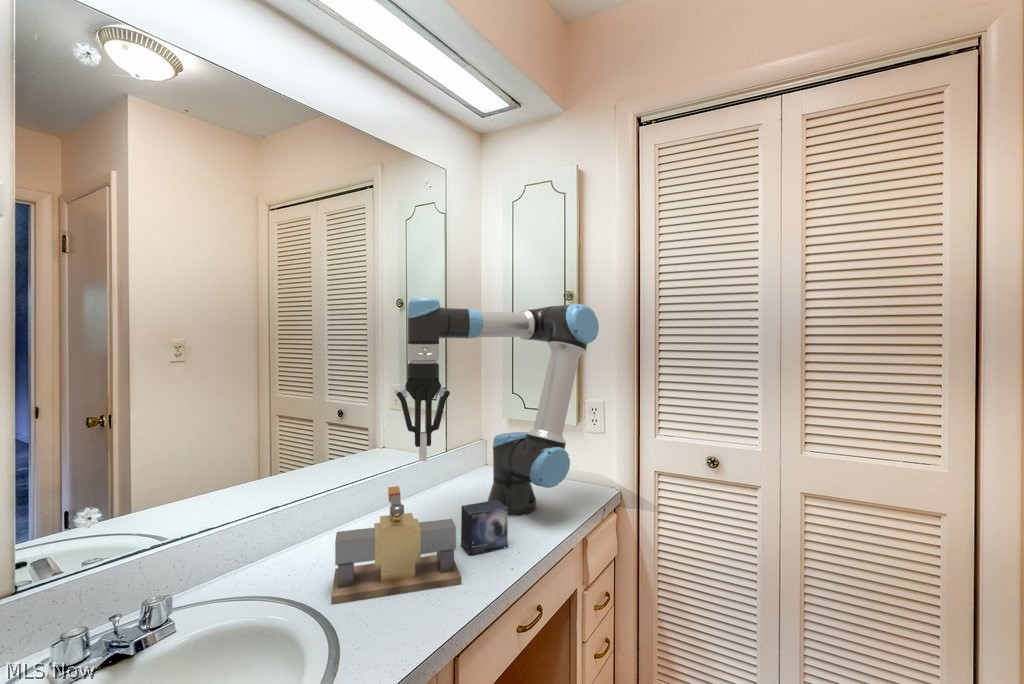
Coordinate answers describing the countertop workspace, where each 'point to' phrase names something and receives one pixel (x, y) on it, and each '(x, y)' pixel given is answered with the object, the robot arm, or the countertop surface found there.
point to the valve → (395, 547)
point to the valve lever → (395, 501)
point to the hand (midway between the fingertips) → (422, 459)
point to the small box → (484, 527)
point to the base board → (371, 586)
